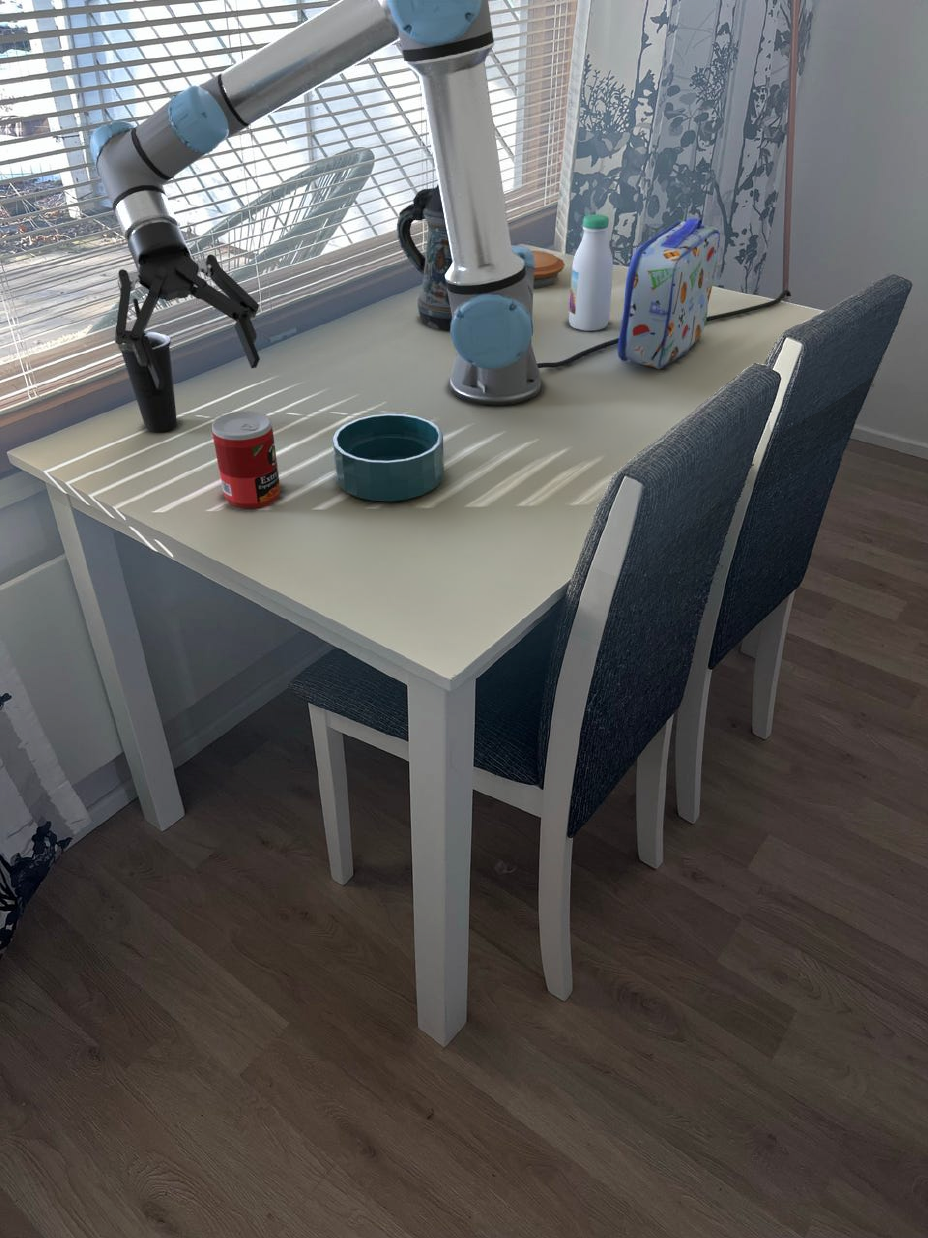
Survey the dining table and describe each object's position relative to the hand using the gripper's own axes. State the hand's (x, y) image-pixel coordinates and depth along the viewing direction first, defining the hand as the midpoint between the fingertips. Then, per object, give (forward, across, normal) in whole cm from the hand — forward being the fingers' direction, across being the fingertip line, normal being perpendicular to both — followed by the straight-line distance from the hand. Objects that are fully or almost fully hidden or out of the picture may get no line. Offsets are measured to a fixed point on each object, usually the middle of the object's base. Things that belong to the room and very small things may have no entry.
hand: (209, 374), depth 132 cm
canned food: (+17, 0, -3) cm, 18 cm away
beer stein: (-14, -61, -35) cm, 72 cm away
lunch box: (+11, -84, -10) cm, 85 cm away
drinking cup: (-3, +3, -24) cm, 24 cm away
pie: (-22, -87, -42) cm, 100 cm away
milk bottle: (-2, -81, -22) cm, 84 cm away
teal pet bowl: (+22, -19, +1) cm, 28 cm away
